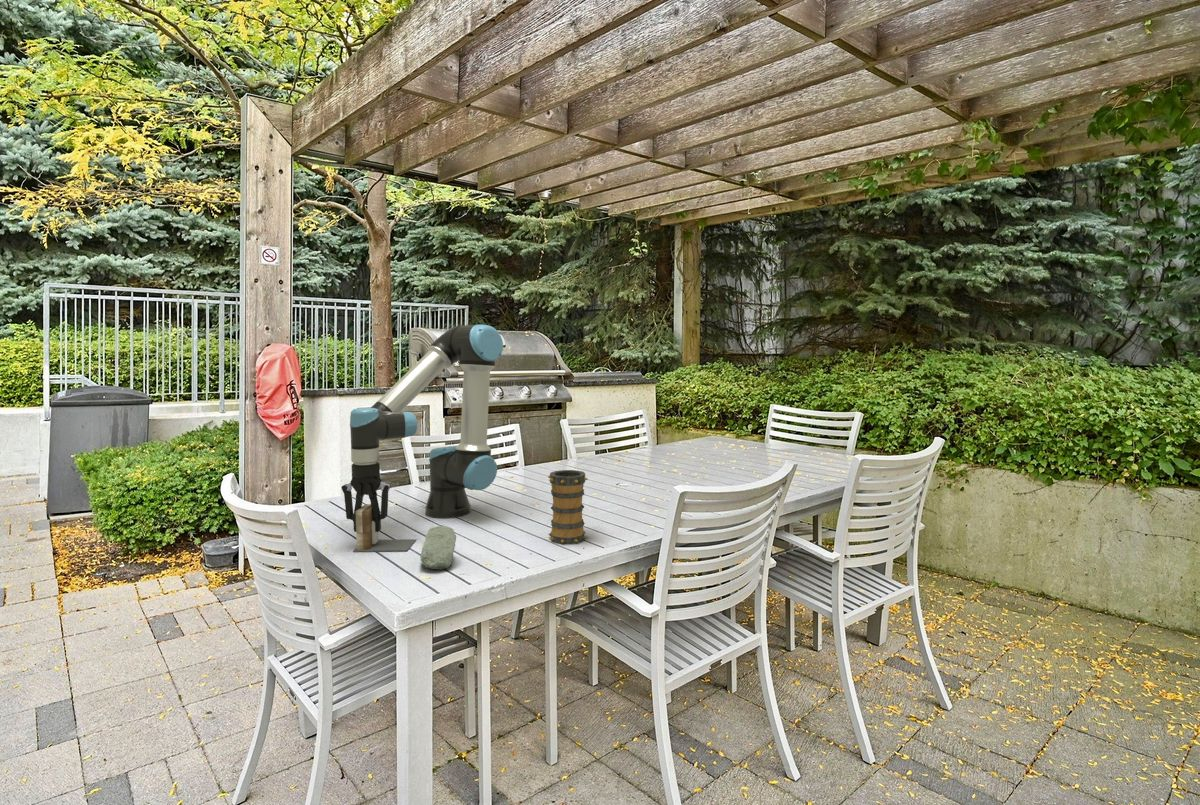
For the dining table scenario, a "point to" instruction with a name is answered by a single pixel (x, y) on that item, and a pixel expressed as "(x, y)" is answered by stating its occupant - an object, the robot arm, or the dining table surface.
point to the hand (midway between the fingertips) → (367, 542)
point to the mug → (567, 506)
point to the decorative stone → (438, 547)
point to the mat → (390, 546)
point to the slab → (364, 527)
